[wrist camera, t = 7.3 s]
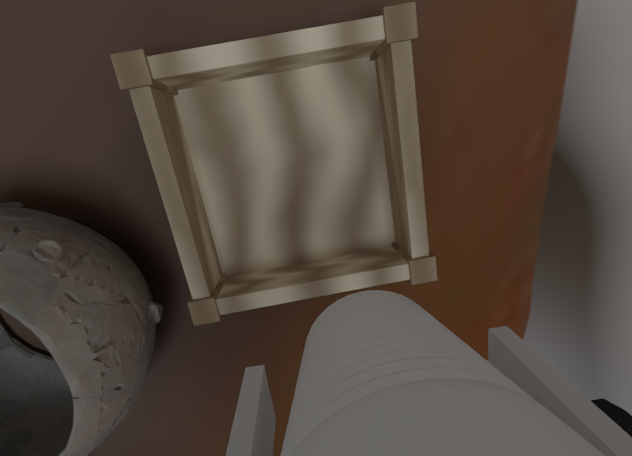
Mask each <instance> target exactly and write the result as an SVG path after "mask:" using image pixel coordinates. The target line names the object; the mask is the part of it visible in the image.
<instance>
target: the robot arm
mask: <svg viewBox="0 0 632 456" xmlns="http://www.w3.org/2000/svg"><path fill="white" fill-rule="evenodd" d="M488 362H489V363H490V364H491V365H492V366H494V367H495V368H496V369H498V370H499V371H500V372H501V373H502V374H504V375H505V376H506V377H507V378H508V379H510V380H512V381H513V382H514V383H515V384H516V385H517V386H518V387H519V388H520V389H522V390H524V391H525V392H526V393H527V394H529V395H530V396H531V397H532V398H533V399H534V400H535V401H537V402H538V403H540V404H542V405H543V406H544V407H545V408H547V409H548V410H549V411H550V412H552V413H553V414H554V415H555V416H557V417H558V418H559V419H560V420H562V421H563V422H564V423H565V424H567V425H568V426H569V427H570V428H572V429H573V430H574V431H575V432H577V433H578V434H579V435H580V436H581V437H583V438H584V439H585V440H586V441H588V442H589V443H590V444H591V445H593V446H594V447H595V448H596V449H598V450H599V451H600V452H601V453H603V454H604V455H605V456H632V416H631V415H630V414H629V413H627V412H626V411H625V410H623V409H622V408H620V407H618V406H616V405H614V404H612V403H610V402H609V401H607V400H605V399H597V400H591V401H590V400H589V399H588V398H587V397H586V396H585V395H584V394H582V393H581V392H580V391H579V390H578V389H577V388H576V387H575V386H573V385H572V384H571V383H570V382H569V381H567V380H566V378H564V377H563V376H562V375H561V374H560V373H559V372H557V370H555V369H554V368H553V367H552V366H551V365H550V364H548V362H546V361H545V360H544V359H543V358H542V357H541V356H540V355H539V354H537V353H536V352H535V351H534V350H533V349H532V348H531V347H529V346H528V345H527V344H526V343H525V342H524V341H523V340H522V339H521V338H519V337H518V336H517V335H516V334H515V333H514V332H513V331H512V330H510V329H509V328H508V327H507V326H503V327H497V328H491V329H489V344H488ZM275 420H276V417H275V413H274V408H273V404H272V399H271V395H270V390H269V385H268V381H267V376H266V372H265V367H264V365H259V366H253V367H247V368H245V372H244V377H243V381H242V386H241V390H240V395H239V399H238V403H237V408H236V412H235V417H234V421H233V426H232V430H231V435H230V439H229V443H228V448H227V452H226V456H273V446H274V433H275Z"/></svg>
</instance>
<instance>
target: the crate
mask: <svg viewBox="0 0 632 456" xmlns="http://www.w3.org/2000/svg"><path fill="white" fill-rule="evenodd" d="M417 38H418V31H417V18H416V6H415V2H411V3H405V4H400V5H394V6H388V7H383V9H382V10H381V12H380V13H379V15H378V16H376V17H371V18H365V19H359V20H353V21H348V22H342V23H336V24H330V25H325V26H319V27H313V28H307V29H302V30H296V31H290V32H284V33H279V34H273V35H267V36H261V37H256V38H250V39H244V40H238V41H233V42H227V43H221V44H215V45H210V46H204V47H198V48H192V49H187V50H181V51H175V52H169V53H164V54H158V55H151V54H150V53H148V52H146V51H145V50H143V49H140V50H134V51H129V52H123V53H117V54H111V55H110V57H111V60H112V63H113V66H114V70H115V73H116V76H117V79H118V82H119V86H120V89H121V90H123V91H127V92H130V96H131V99H132V102H133V105H134V109H135V112H136V115H137V119H138V122H139V125H140V128H141V132H142V135H143V138H144V141H145V145H146V148H147V151H148V155H149V158H150V161H151V164H152V168H153V171H154V174H155V178H156V181H157V184H158V187H159V191H160V194H161V197H162V200H163V204H164V207H165V210H166V214H167V217H168V220H169V223H170V227H171V230H172V233H173V237H174V240H175V243H176V246H177V250H178V253H179V256H180V260H181V263H182V266H183V269H184V273H185V276H186V279H187V282H188V286H189V289H190V292H191V298H190V299H189V301H188V302H187V304H188V308H189V311H190V314H191V317H192V320H193V324H194V326H198V325H203V324H208V323H214V322H219V321H221V318H222V316H223V315H224V314H229V313H234V312H240V311H245V310H250V309H256V308H261V307H266V306H271V305H277V304H282V303H287V302H293V301H298V300H303V299H309V298H314V297H319V296H324V295H330V294H335V293H340V292H346V291H351V290H356V289H362V288H367V287H372V286H377V285H383V284H388V283H393V282H399V281H404V280H408V281H409V282H410V283H411V284H412V285H415V284H420V283H425V282H431V281H436V280H437V271H436V258H435V256H434V255H433V254H432V253H431V252H429V246H428V235H427V223H426V211H425V199H424V187H423V175H422V164H421V152H420V140H419V128H418V116H417V104H416V93H415V81H414V69H413V57H412V45H411V43H412V42H413V41H415V40H416V39H417Z"/></svg>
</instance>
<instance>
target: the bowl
mask: <svg viewBox="0 0 632 456" xmlns="http://www.w3.org/2000/svg"><path fill="white" fill-rule="evenodd" d="M0 308H1V309H3V310H4V311H6V312H7V313H9V314H10V315H12V316H13V317H15V318H16V319H18V320H19V321H20V322H21V323H23V324H24V325H25V326H26V327H28V328H29V329H30V330H31V331H32V332H33V333H34V334H35V335H36V336H37V337H38V338H39V339H40V340H41V342H42V343H43V344H44V345H45V346H46V348H47V349H48V350H49V352H50V353H51V355H52V356H53V358H52V357H49V356H46V355H43V354H41V353H38V352H35V351H33V350H31V349H29V348H28V347H26V346H24V345H23V344H21V343H20V342H18V341H17V340H16V339H14V338H13V337H12V336H11V335H10V334H9V333H8V332H7V331H6V330H5V328H4V327H3V326H2V325H1V323H0V456H88V455H89V454H90V453H91V452H92V451H93V450H94V449H95V448H96V447H97V446H98V445H100V444H101V443H102V442H103V441H104V440H105V439H106V438H107V437H108V436H109V434H110V433H111V432H112V431H113V430H114V429H115V428H116V426H117V425H118V424H119V423H120V421H121V420H122V419H123V418H124V417H125V415H126V414H127V413H128V412H129V410H130V409H131V407H132V406H133V404H134V403H135V401H136V399H137V397H138V395H139V393H140V391H141V389H142V387H143V386H144V384H145V381H146V379H147V376H148V373H149V369H150V365H151V361H152V357H153V353H154V346H155V340H156V323H159V321H160V320H161V316H162V312H163V306H162V305H161V304H157V303H156V302H153V298H152V295H151V291H150V288H149V286H148V284H147V282H146V280H145V279H144V277H143V275H142V273H141V272H140V270H139V268H138V267H137V266H136V264H135V263H134V262H133V261H132V260H131V258H130V257H129V256H128V255H127V254H126V253H125V252H124V251H123V250H122V249H121V248H120V247H119V246H117V245H116V244H114V243H113V242H112V241H110V240H109V239H107V238H106V237H104V236H103V235H101V234H99V233H98V232H96V231H94V230H92V229H90V228H88V227H86V226H84V225H81V224H79V223H77V222H74V221H72V220H70V219H67V218H64V217H61V216H58V215H54V214H51V213H48V212H43V211H38V210H32V209H29V208H25V207H24V204H22V203H19V202H12V201H10V202H5V203H0Z"/></svg>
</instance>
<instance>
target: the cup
mask: <svg viewBox="0 0 632 456" xmlns="http://www.w3.org/2000/svg"><path fill="white" fill-rule="evenodd" d="M280 456H605V455H604V454H603V453H601V452H600V451H599V450H598V449H596V448H595V447H594V446H593V445H591V444H590V443H589V442H588V441H586V440H585V439H584V438H583V437H581V436H580V435H579V434H578V433H577V432H575V431H574V430H573V429H572V428H570V427H569V426H568V425H567V424H565V423H564V422H563V421H562V420H560V419H559V418H558V417H557V416H555V415H554V414H553V413H552V412H550V411H549V410H548V409H547V408H545V407H544V406H543V405H542V404H540V403H538V402H537V401H535V400H534V399H533V398H532V397H531V396H530V395H529V394H527V393H526V392H525V391H524V390H522V389H520V388H519V387H518V386H517V385H516V384H515V383H514V382H513V381H512V380H510V379H508V378H507V377H506V376H505V375H504V374H502V373H501V372H500V371H499V370H498V369H496V368H495V367H494V366H492V365H491V364H490V363H489V362H488V361H487V360H485V359H484V358H482V357H481V356H480V355H479V354H478V353H477V352H475V351H474V350H473V349H472V348H470V347H469V346H468V345H467V344H465V343H464V342H463V341H462V340H461V339H460V338H458V337H457V336H455V335H454V334H453V333H452V332H451V331H449V330H448V329H447V328H446V327H445V326H444V325H442V324H441V323H440V322H439V321H437V320H436V319H435V318H434V317H433V316H431V315H430V314H429V313H428V312H426V311H425V310H424V309H423V308H421V307H420V306H419V305H418V304H416V303H415V302H414V301H412V300H410V299H408V298H407V297H405V296H403V295H400V294H397V293H394V292H389V291H381V290H371V291H362V292H358V293H354V294H350V295H348V296H346V297H343V298H341V299H339V300H337V301H336V302H334V303H333V304H332V305H330V306H329V307H327V308H326V309H325V310H324V311H323V312H322V313H321V314H320V315H319V316H318V318H317V319H316V321H315V322H314V324H313V325H312V327H311V329H310V331H309V334H308V336H307V339H306V343H305V348H304V352H303V357H302V361H301V366H300V372H299V375H298V380H297V384H296V390H295V393H294V399H293V402H292V407H291V412H290V415H289V421H288V424H287V429H286V435H285V438H284V442H283V448H282V452H281V455H280Z"/></svg>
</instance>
